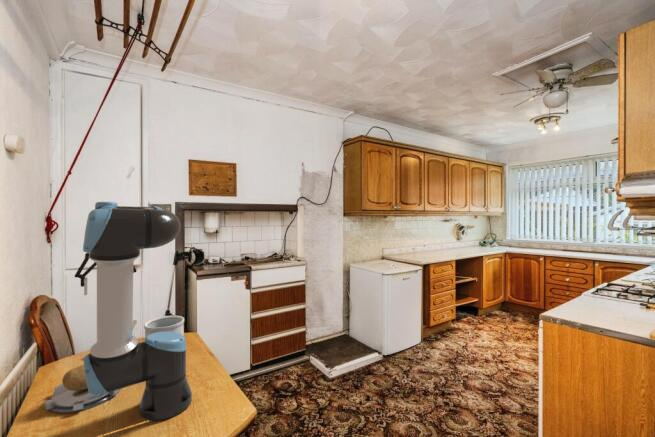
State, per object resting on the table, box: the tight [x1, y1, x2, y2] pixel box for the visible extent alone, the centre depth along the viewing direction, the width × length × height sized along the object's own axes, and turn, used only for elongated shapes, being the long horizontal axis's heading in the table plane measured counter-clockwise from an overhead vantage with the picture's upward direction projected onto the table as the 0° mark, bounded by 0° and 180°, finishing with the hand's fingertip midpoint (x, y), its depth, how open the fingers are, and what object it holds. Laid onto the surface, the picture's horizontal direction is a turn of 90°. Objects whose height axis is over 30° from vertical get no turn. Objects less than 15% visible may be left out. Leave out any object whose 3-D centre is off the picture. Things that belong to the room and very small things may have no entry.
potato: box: [61, 363, 88, 391], centre depth 103 cm, size 10×14×8 cm
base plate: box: [49, 393, 118, 415], centre depth 104 cm, size 19×19×1 cm
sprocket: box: [44, 383, 121, 411], centre depth 104 cm, size 21×20×7 cm
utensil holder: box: [143, 315, 185, 340], centre depth 127 cm, size 15×15×18 cm
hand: (107, 292), depth 123 cm, fingers open, 13 cm apart
